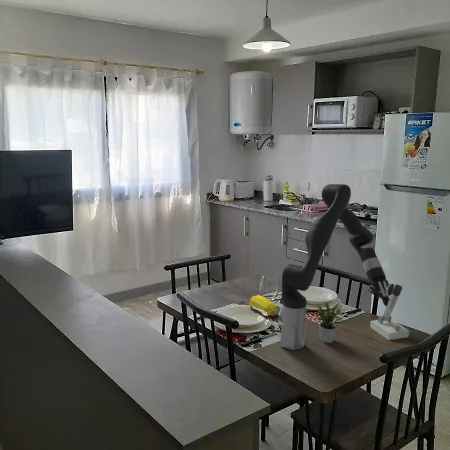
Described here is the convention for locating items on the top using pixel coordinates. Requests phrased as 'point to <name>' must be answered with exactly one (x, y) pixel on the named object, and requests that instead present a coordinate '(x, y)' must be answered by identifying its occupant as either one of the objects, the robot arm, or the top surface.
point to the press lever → (392, 302)
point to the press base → (389, 328)
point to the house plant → (328, 323)
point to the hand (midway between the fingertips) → (388, 305)
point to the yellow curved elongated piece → (263, 304)
